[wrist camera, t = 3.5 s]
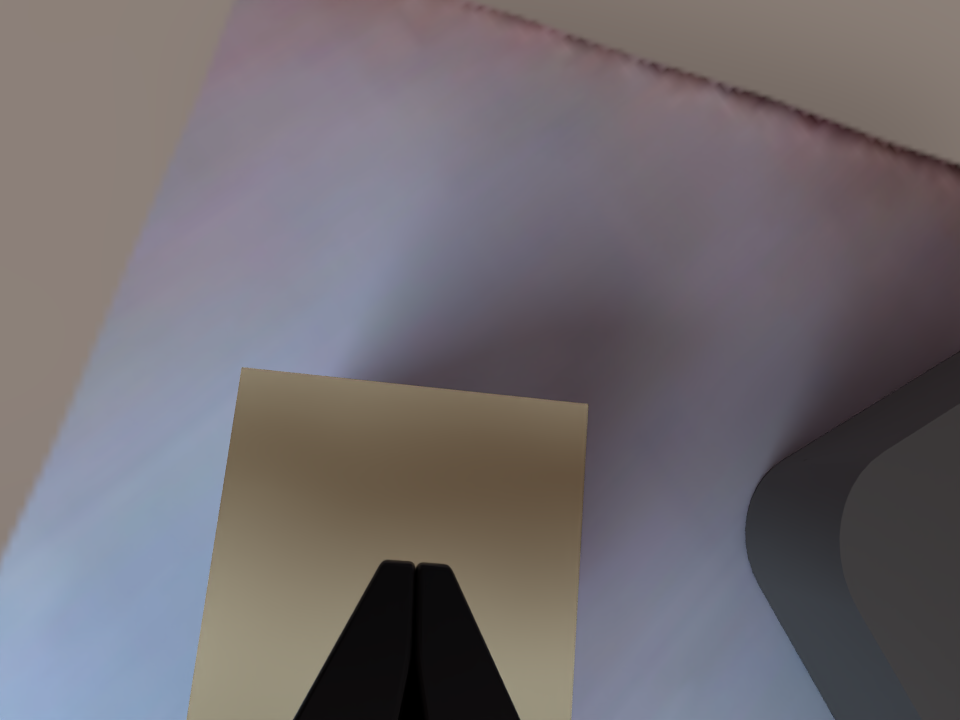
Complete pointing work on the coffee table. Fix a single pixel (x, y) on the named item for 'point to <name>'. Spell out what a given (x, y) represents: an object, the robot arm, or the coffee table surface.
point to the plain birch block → (389, 531)
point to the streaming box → (871, 554)
